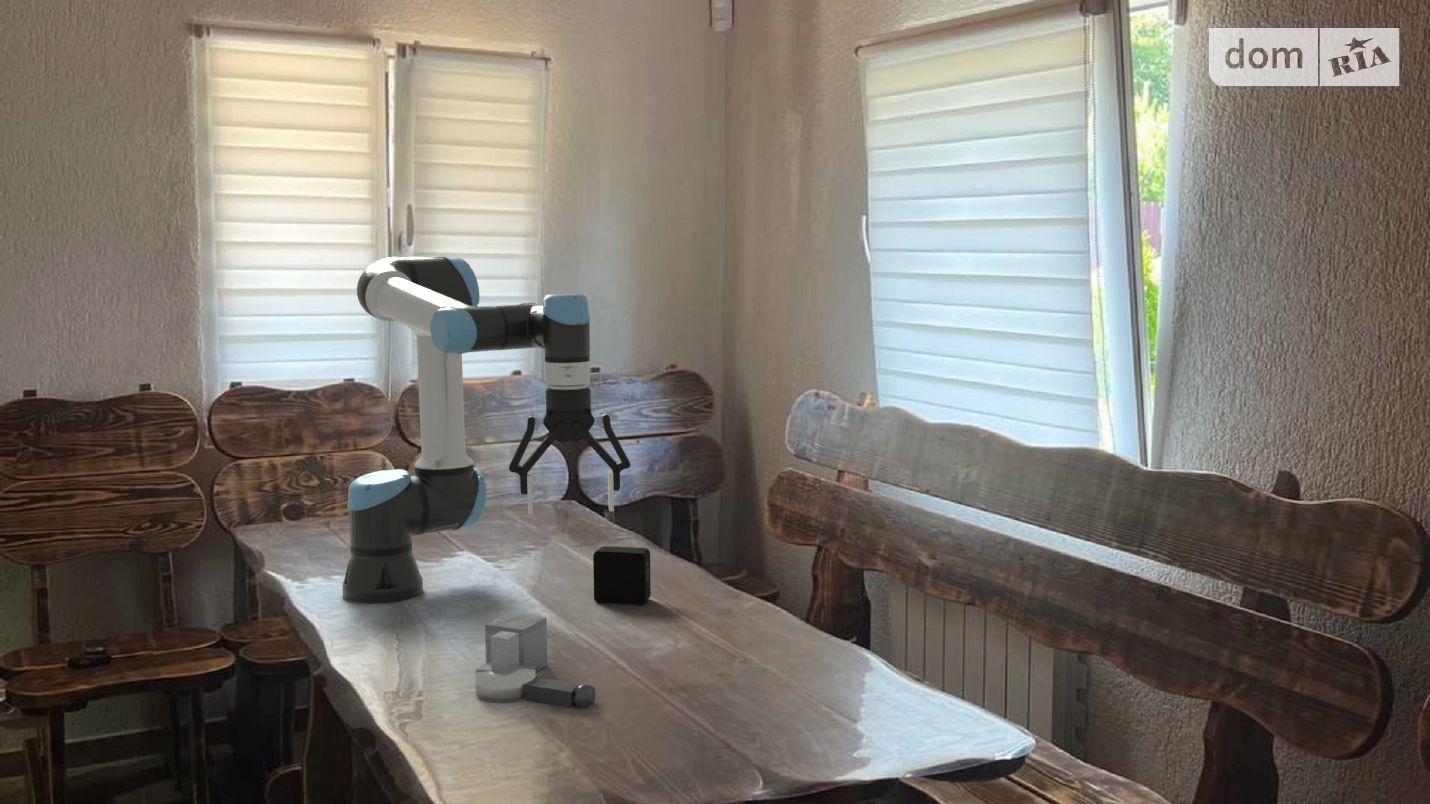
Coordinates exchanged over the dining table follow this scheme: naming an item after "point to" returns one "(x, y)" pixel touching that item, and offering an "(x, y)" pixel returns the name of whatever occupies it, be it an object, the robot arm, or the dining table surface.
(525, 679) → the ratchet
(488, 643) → the dark grey cube
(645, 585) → the electronic device
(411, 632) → the dining table surface
